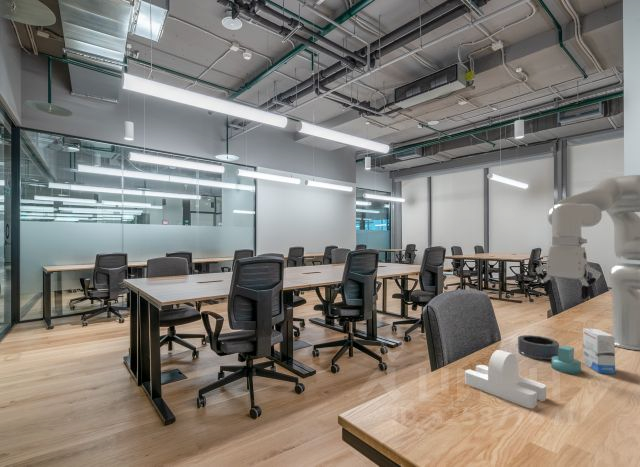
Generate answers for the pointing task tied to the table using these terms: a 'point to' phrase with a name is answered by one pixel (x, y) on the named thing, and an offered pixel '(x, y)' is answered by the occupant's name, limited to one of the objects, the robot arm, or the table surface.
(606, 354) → the ink box
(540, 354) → the grey round hollow piece
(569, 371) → the cap
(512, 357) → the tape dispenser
